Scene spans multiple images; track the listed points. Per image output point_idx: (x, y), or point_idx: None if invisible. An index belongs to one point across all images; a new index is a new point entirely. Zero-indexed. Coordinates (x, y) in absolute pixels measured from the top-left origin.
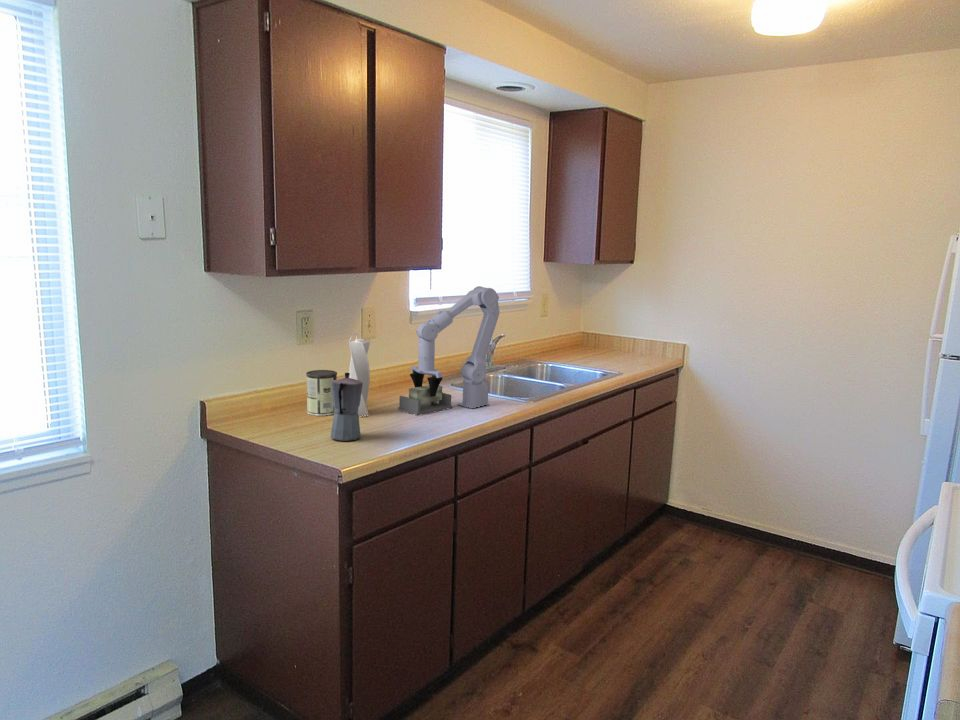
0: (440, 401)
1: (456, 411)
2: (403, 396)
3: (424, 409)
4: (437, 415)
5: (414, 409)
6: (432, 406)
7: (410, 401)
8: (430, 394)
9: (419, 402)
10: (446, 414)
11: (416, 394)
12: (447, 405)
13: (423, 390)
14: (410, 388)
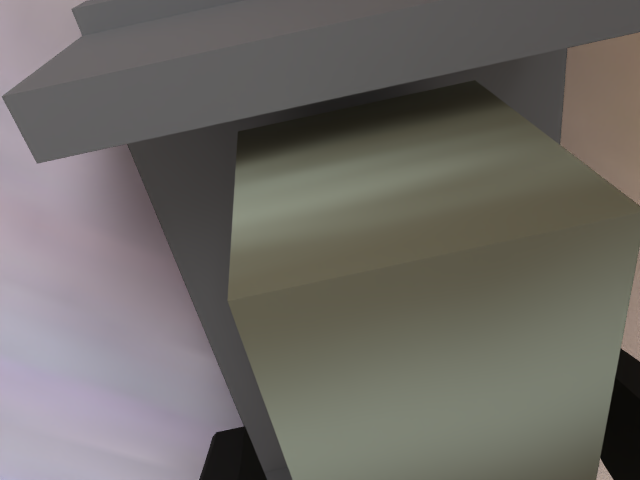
0: None
1: (138, 462)
2: (630, 15)
3: (232, 213)
4: (19, 261)
5: (168, 21)
6: None
7: (293, 21)
8: (225, 458)
9: (33, 123)
10: (42, 357)
11: (263, 224)
12: (287, 468)
13: (284, 443)
14: (615, 255)
